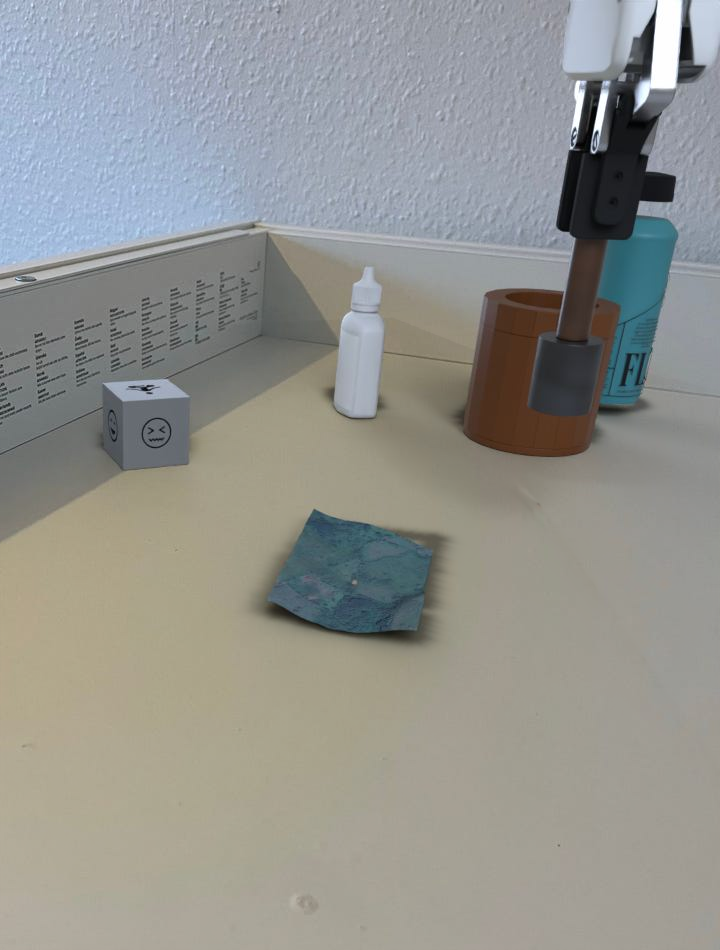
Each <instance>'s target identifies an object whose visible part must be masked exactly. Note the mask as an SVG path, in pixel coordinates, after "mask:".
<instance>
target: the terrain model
mask: <svg viewBox="0 0 720 950" xmlns="http://www.w3.org/2000/svg"><path fill="white" fill-rule="evenodd" d="M433 553H434V549H431V548H428V547H426V546H423V545H421V544H419V543H417V542H415V541H413V540H411V539H409V538H405V537H403V536H402V535H399V534H397V533H395V532H393V531H390V530H388V529H386V528H382V527H380V526H377V525H374V524H371V523H366V522H361V521H355V520H346V519H342V518H338V517H334V516H331V515H328V514H326V513H324V512H321V511H320V510H318V509H316V508H313V509H312V512H311V513H310V515H309V517H308V518H307V520H306V522H305V524H304V527H303V528H302V531H301V532H300V534H299V535H298V537H297V540H296V542H295V544H294V546H293V549H292V551H291V552H290V555H289V556H288V557H287V560H286V562H285V563H284V566H283V568H282V569H281V571H280V572H279V574H278V577H277V579H276V582H275V584H274V585H273V587H272V589H271V591H270V593H269V594H268V595H267V598H266V600H267V601H269V602H272V603H274V604H277V605H278V606H280V607H282V608H284V609H286V610H287V611H289V612H290V613H292V614H293V615H296V616H298V617H300V618H302V619H304V620H306V621H309V622H311V623H314V624H318V625H320V626H322V627H325V628H327V629H329V630H335V631H340V632H341V631H342V632H349V633H355V634H356V633H358V634H361V633H363V634H364V633H365V634H366V633H379V632H380V633H381V632H389V631H415V632H417V631H418V628H419V625H420V619H421V615H422V611H423V606H424V602H425V595H426V593H425V587H426V583H427V581H428V580H427V579H428V575H429V570H430V564H431V560H432V556H433Z"/></svg>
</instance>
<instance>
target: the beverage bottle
mask: <svg viewBox="0 0 720 950" xmlns="http://www.w3.org/2000/svg"><path fill="white" fill-rule="evenodd" d="M676 184H677V176H676V175H673V174H669V173H664V172H659V171H649V170H648V171H647V170H646V173H645V178H644V182H643V187H642V192H641V196H640V201H639V202H649V203H673V202H674V198H675V191H676V190H675V189H676ZM678 239H679V231H678V230H677V228H676V227H675V225H674V224H673V222H672V221H671V220H670V219H669V218H666V217H660V216H652V215H643V214H642V215H641V214H637V215H636V220H635V225H634V230H633V234H632V236H631V237H630V238H629V239H627V240H608V245H607V250H606V255H605V260H604V265H603V270H602V275H601V280H600V285H599V290H598V295H597V297H599V298H603V299H606V300H609V301H612V302H615V303H616V304H618V305H620V306H621V312H620V316H619V320H618V325H617V329H616V333H615V338H614V342H613V347H612V351H611V355H610V360H609V364H608V369H607V373H606V377H605V382H604V386H603V390H602V395H601V399H600V404H603V405H617V406H624V405H625V406H626V405H632V404H635V403H637V402H638V400H639V398H640V396H641V395H642V394H643V392H642V391H644V386H645V382H646V381H647V377H648V373H649V368H650V364H651V360H652V355H653V354H652V353H653V351H654V350H653V349H654V348H653V344H654V342H655V341H656V339H655V338H656V335H657V332H656V331H657V328H658V324H659V320H660V314H661V310H662V308H663V306H664V301H665V299H666V296H665V295H666V293H667V288H668V283H669V282H670V278H671V276H670V270H671V265H672V262H673V258H674V253H675V248H676V244H677V241H678Z"/></svg>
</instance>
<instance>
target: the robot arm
mask: <svg viewBox="0 0 720 950" xmlns="http://www.w3.org/2000/svg"><path fill="white" fill-rule="evenodd" d="M562 44H563V45H562V52H561V53H562V54H561V66H562V70H563V71H564V73H565V74H566V75H567V76H568V77H569V78H570V79H571V80H573V81H575V86H574V90H573V91H574V92H573V97H574V100H575V109H574V114H573V120H572V126H571V132H570V136H569V148H570V149H569V150H568V152H567V159H566V163H565V171H564V175H563V182H562V186H561V193H560V198H559V204H558V209H557V215H556V221H555V227H556V229H557V230H559V231H560V232H563V233H569V235H570V236H571V237H572V238H573V239H574V238H577V239H602V240H627V239H629V238H630V237H631V236H632V234H633V230H634V225H635V220H636V215H638V210H639V205H640V202H641V201H640V196H641V192H642V187H643V182H644V178H645V173H646V171H647V167H648V163H649V158H650V154H651V153H652V151H653V148H654V144H655V141H656V136H657V131H658V126H659V122H660V117H661V116H662V114H663V111H665V109H667V108H668V106H670V105H671V104H672V102H673V101H674V98H675V96H676V92H677V87H678V84H682V85H683V84H684V85H685V84H696V83H698V82H699V81H701V80H703V79H704V78H705V77H706V76H707V75H709V74H710V72H711V71H712V70H713V68H714V67H715V64H716V62H717V57H718V54H719V49H720V0H569V3H568V9H567V14H566V22H565V29H564V36H563V43H562ZM623 74H625V79H624V80H623V81H620V80H619V78H620V77H621V76H622V75H623ZM595 120H596V121H595ZM594 125H595V127H594ZM593 131H594V132H593ZM592 136H593V137H592ZM591 142H592V144H591ZM590 147H591V151H592V153H590Z"/></svg>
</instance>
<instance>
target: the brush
mask: <svg viewBox="0 0 720 950" xmlns="http://www.w3.org/2000/svg"><path fill="white" fill-rule="evenodd" d="M595 121H596V120H595ZM594 127H595V125H594ZM593 132H594V131H593ZM592 137H593V136H592ZM591 144H592V142H591ZM590 153H592V151H591V147H590ZM607 245H608V240H602V239H577V238H574V237H573V240H572V246H571V250H570V257H569V262H568V266H567V267H568V268H567V272H566V279H565V284H564V289H563V291H564V294H563V299H562V305H561V310H560V315H559V321H558V326H557V331H553V332H545V333H542V334H540V335H539V340H538V345H537V351H536V357H535V362H534V368H533V374H532V379H531V385H530V391H529V396H528V402H527V405H528V407H529V408H531V409H532V410H534V411H537V412H540V413H543V414H548V415H554V416H563V417H577V416H584V415H587V414H589V413H590V412H591V407H592V402H593V397H594V393H595V388H596V383H597V378H598V374H599V369H600V364H601V359H602V354H603V350H604V345H605V341H604V340H603V339H602V338H600V337H597V336H594V335H590V330H591V325H592V320H593V315H594V310H595V305H596V300H597V295H598V290H599V285H600V280H601V275H602V270H603V265H604V260H605V255H606V250H607Z"/></svg>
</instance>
